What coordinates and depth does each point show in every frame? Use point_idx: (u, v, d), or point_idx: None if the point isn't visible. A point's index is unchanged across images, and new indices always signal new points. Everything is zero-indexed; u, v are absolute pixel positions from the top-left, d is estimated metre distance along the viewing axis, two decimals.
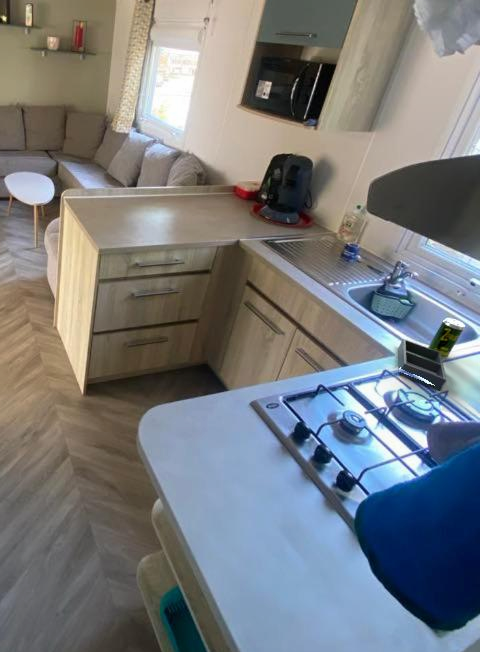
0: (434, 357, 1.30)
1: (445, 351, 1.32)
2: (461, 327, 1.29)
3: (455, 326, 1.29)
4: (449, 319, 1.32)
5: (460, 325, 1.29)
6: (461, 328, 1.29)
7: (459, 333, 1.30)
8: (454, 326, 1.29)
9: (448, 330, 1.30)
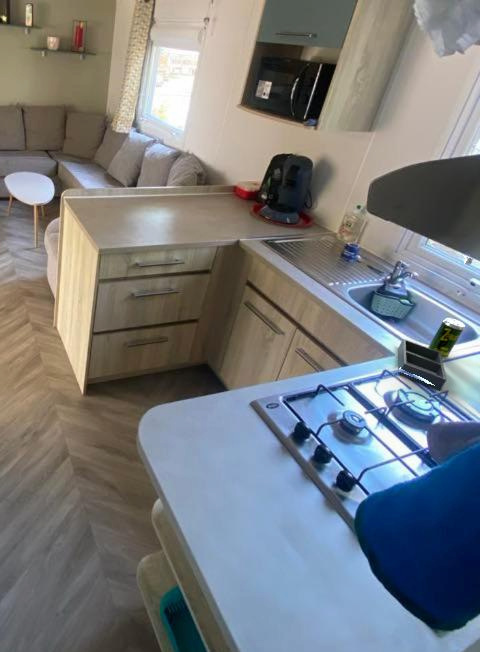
0: (434, 357, 1.30)
1: (445, 351, 1.32)
2: (461, 327, 1.29)
3: (455, 326, 1.29)
4: (449, 319, 1.32)
5: (460, 325, 1.29)
6: (461, 328, 1.29)
7: (459, 333, 1.30)
8: (454, 326, 1.29)
9: (448, 330, 1.30)
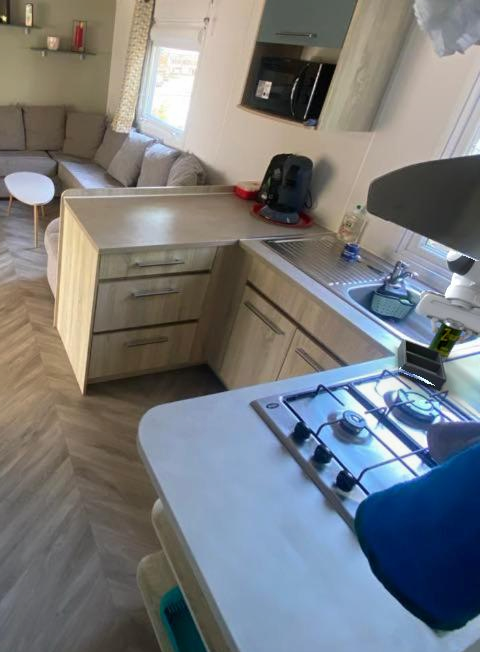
0: (434, 357, 1.30)
1: (445, 351, 1.32)
2: (461, 327, 1.29)
3: (455, 326, 1.29)
4: (449, 319, 1.32)
5: (460, 325, 1.29)
6: (461, 328, 1.29)
7: (459, 333, 1.30)
8: (454, 326, 1.29)
9: (448, 330, 1.30)
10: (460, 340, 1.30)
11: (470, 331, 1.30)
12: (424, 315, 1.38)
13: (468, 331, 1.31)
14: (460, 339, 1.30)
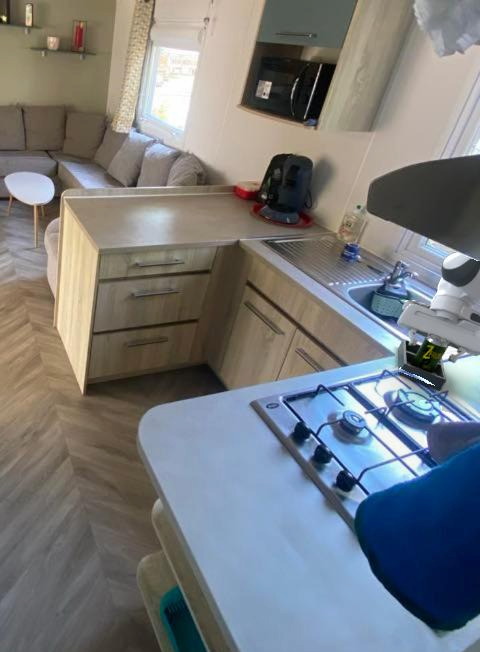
0: None
1: (427, 370, 1.19)
2: (445, 344, 1.16)
3: (439, 343, 1.16)
4: (432, 335, 1.19)
5: (444, 342, 1.16)
6: (445, 345, 1.16)
7: (443, 351, 1.16)
8: (437, 343, 1.16)
9: (431, 347, 1.17)
10: (452, 359, 1.16)
11: (463, 349, 1.16)
12: (407, 328, 1.24)
13: (461, 349, 1.16)
14: (452, 358, 1.16)
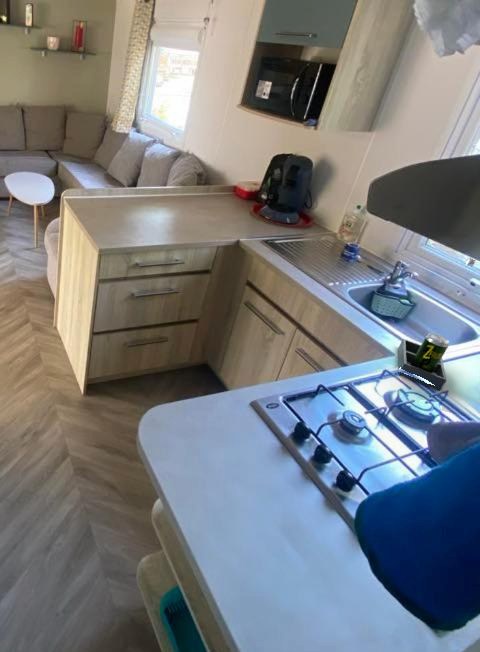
0: None
1: (427, 370, 1.19)
2: (445, 344, 1.16)
3: (439, 343, 1.16)
4: (432, 335, 1.19)
5: (444, 342, 1.16)
6: (445, 345, 1.16)
7: (443, 351, 1.16)
8: (437, 343, 1.16)
9: (431, 347, 1.17)
10: None
11: None
12: None
13: None
14: None
